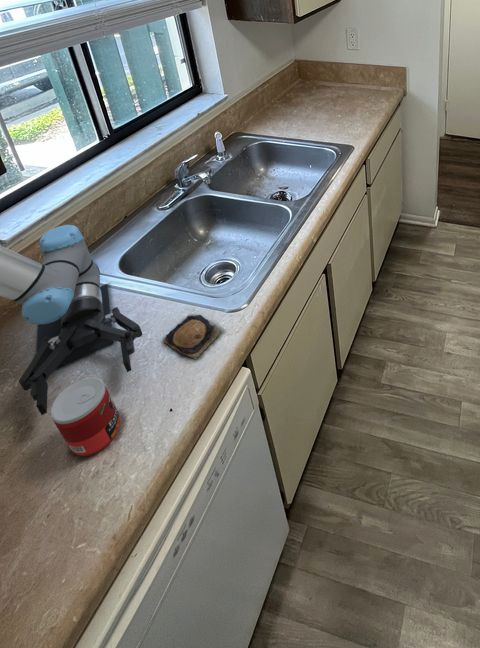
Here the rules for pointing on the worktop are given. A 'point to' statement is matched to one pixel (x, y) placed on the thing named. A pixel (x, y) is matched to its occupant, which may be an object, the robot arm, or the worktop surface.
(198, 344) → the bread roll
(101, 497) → the worktop surface
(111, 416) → the canned food
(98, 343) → the mat
